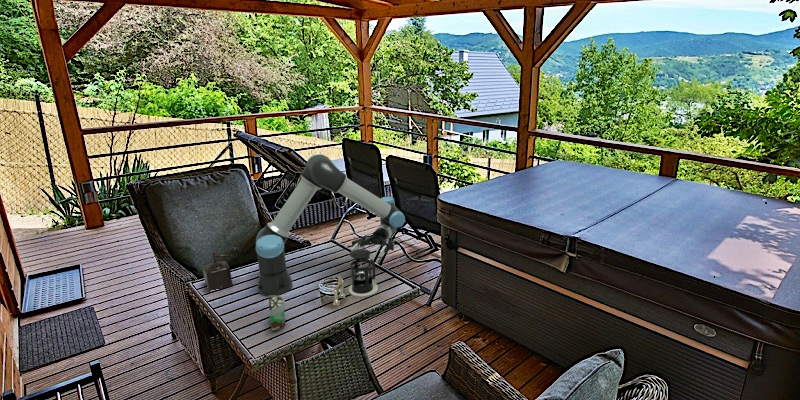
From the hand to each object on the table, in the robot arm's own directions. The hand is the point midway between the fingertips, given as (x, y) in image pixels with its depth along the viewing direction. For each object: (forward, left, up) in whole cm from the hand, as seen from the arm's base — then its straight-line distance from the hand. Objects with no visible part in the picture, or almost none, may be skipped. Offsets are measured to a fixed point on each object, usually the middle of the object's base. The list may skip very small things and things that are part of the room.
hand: (366, 252), depth 198 cm
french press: (-2, -5, -15) cm, 16 cm away
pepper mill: (-67, +3, -15) cm, 69 cm away
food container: (-32, -31, -15) cm, 47 cm away
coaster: (-2, -5, -15) cm, 16 cm away
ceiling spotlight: (-11, -11, -15) cm, 22 cm away
